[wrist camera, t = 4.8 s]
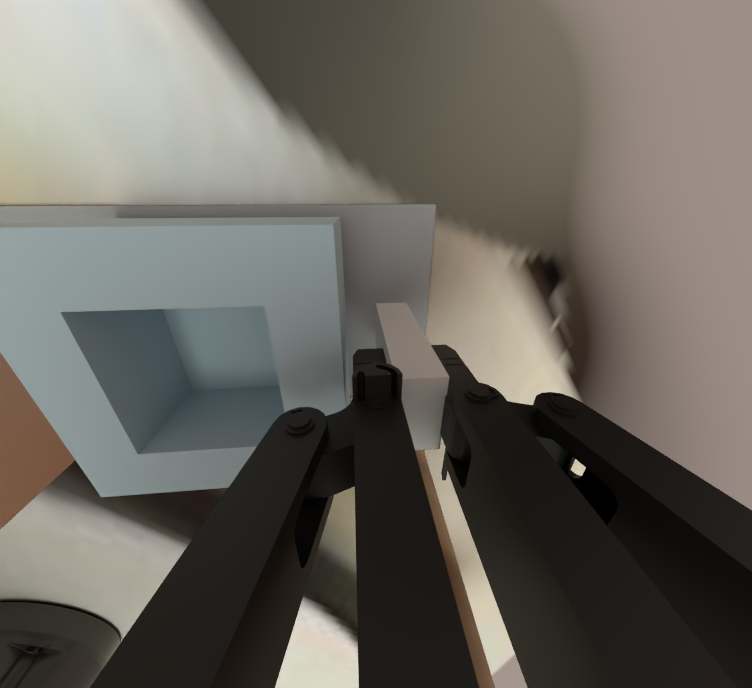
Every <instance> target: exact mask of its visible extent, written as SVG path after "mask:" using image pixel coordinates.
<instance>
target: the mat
mask: <svg viewBox="0 0 752 688" xmlns="http://www.w3.org/2000/svg"><path fill="white" fill-rule="evenodd" d="M435 212H436V204H348V205H128V206H0V224H12V223H31V222H51V221H70V220H89V219H108V218H233V217H341V235H342V252H343V270H344V288H345V306H346V323H347V341H348V359H349V377H350V396H353V388H352V375H353V355H354V354H355V352H356V351H357V350H358V349H375V348H376V303H407V305H408V307H409V308H410V310H411V312H412V314H413V315H414V317H415V319H416V320H417V322H418V324H419V326H420V327H421V329H422V331H423V332H424V334H425V333H426V321H427V309H428V297H429V285H430V272H431V260H432V248H433V236H434V224H435Z"/></svg>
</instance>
